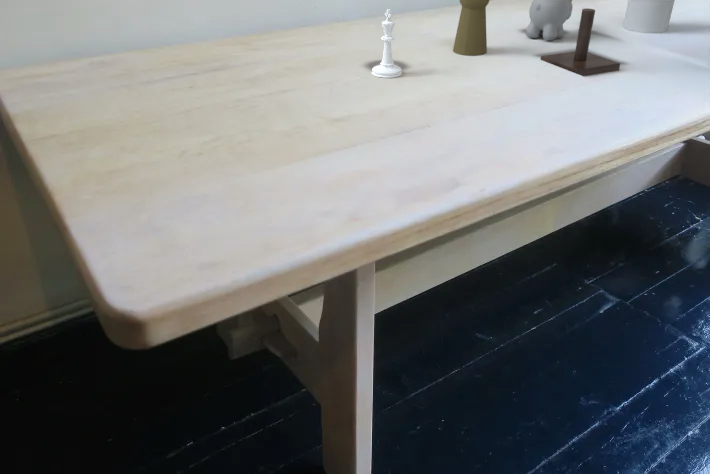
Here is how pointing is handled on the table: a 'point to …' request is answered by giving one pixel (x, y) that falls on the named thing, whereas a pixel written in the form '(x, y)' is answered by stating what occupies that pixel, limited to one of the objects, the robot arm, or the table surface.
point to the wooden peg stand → (583, 52)
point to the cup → (648, 16)
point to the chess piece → (387, 52)
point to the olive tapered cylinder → (471, 28)
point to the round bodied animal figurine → (548, 18)
